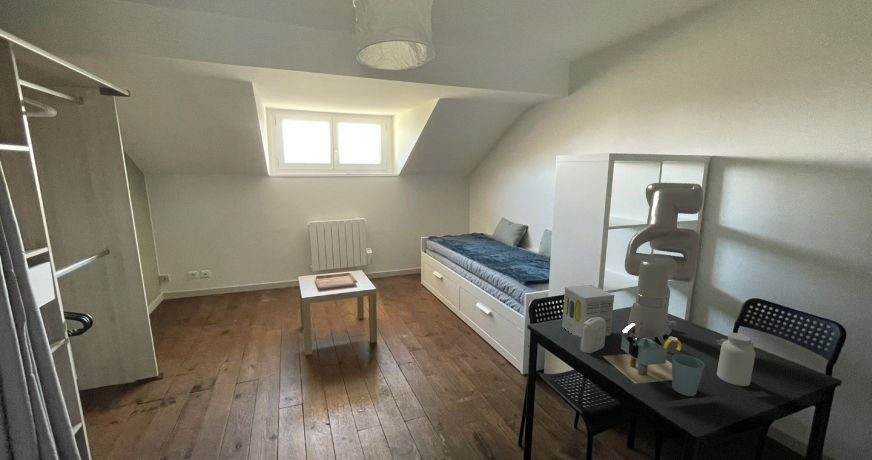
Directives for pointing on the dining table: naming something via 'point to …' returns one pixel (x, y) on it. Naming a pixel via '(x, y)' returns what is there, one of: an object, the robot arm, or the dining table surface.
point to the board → (632, 372)
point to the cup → (686, 374)
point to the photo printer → (593, 335)
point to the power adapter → (726, 340)
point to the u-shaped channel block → (647, 351)
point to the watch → (673, 339)
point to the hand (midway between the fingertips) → (644, 354)
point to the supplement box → (586, 307)
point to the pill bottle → (736, 360)
